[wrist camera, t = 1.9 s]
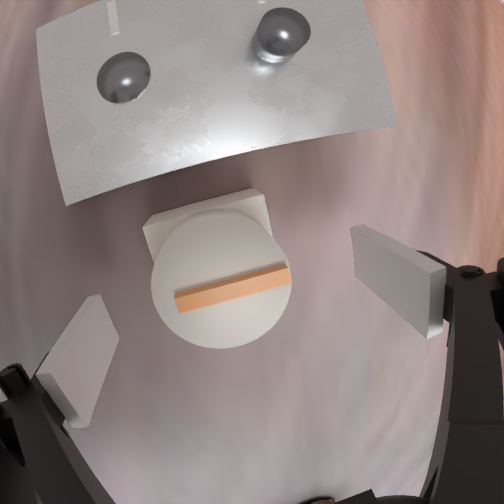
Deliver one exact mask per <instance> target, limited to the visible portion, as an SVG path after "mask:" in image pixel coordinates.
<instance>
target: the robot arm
mask: <svg viewBox="0 0 504 504" xmlns="http://www.w3.org/2000/svg"><path fill="white" fill-rule="evenodd" d="M350 231H351V239H352V247H353V255H354V264H355V274H356V277H357V278H358V279H359V280H360V281H362V282H363V283H364V284H365V285H366V286H367V287H369V288H370V289H371V290H372V291H373V292H374V293H376V294H377V295H378V296H379V297H380V298H381V299H383V300H384V301H385V302H386V303H387V304H388V305H389V306H390V307H392V308H393V309H394V310H395V311H396V312H397V313H398V314H400V315H401V316H402V317H403V318H404V319H405V320H406V321H407V322H409V323H410V324H411V325H412V326H413V327H414V328H415V329H416V330H417V331H418V332H420V333H421V334H422V335H423V336H424V337H425V338H426V339H429V338H431V337H433V336H435V335H437V334H439V333H441V332H442V327H443V318H444V319H445V320H446V321H447V322H449V323H450V324H449V332H448V340H447V347H448V351H447V363H446V373H445V383H444V391H443V398H442V405H441V411H440V417H439V423H438V428H437V434H436V439H435V443H434V448H433V452H432V457H431V461H430V465H429V469H428V473H427V476H426V480H425V483H424V485H423V488H422V491H421V494H420V497H416V496H406V495H393V496H383V497H378V498H376V497H375V495H374V493H373V491H372V489H370V490H367V491H365V492H362V493H360V494H357V495H355V496H352V497H349V498H347V499H344V500H341V501H338V502H335V503H332V504H504V406H503V382H502V369H501V359H500V350H499V342H498V339H499V341H500V343H501V345H502V348H503V350H504V258H501V259H500V260H498V263H497V271H496V272H491V273H485V272H484V270H483V269H481V268H480V267H476V266H470V265H467V266H461V267H458V268H456V267H454V266H452V265H450V264H448V263H446V262H444V261H443V260H442V261H441V259H439V258H437V257H435V256H433V255H431V254H429V253H427V252H422V251H418V250H417V251H415V250H414V249H412V248H410V247H408V246H406V245H404V244H402V243H400V242H398V241H396V240H394V239H392V238H390V237H388V236H386V235H384V234H382V233H380V232H378V231H376V230H374V229H372V228H370V227H368V226H366V225H363V224H362V225H359V226H355V227H351V228H350ZM119 340H120V338H119V336H118V333H117V331H116V329H115V327H114V325H113V323H112V320H111V318H110V316H109V314H108V311H107V309H106V307H105V304H104V302H103V300H102V297H101V295H100V294H97V295H93V296H89V297H87V299H86V300H85V301H84V303H83V304H82V305H81V307H80V308H79V310H78V311H77V312H76V314H75V315H74V317H73V318H72V320H71V321H70V322H69V324H68V325H67V327H66V328H65V330H64V331H63V333H62V334H61V336H60V337H59V339H58V340H57V342H56V343H55V345H54V346H53V348H52V349H51V350H50V351H49V352H48V353H47V355H46V356H45V358H44V359H43V362H41V364H40V365H39V367H38V369H37V370H36V372H35V373H34V375H33V377H32V378H31V380H30V378H29V377H28V375H27V374H26V372H25V370H24V369H23V367H22V366H21V364H18V363H16V364H12V365H10V366H7V367H6V368H5V369H3V370H2V371H1V372H0V388H1V389H2V391H3V392H4V394H5V395H6V397H7V398H8V400H6V401H3V402H0V504H116V503H115V502H114V501H113V499H112V498H111V497H110V495H109V494H108V493H107V491H106V490H105V489H104V487H103V486H102V485H101V483H100V482H99V480H98V479H97V478H96V476H95V475H94V473H93V472H92V470H91V469H90V467H89V466H88V464H87V463H86V461H85V460H84V458H83V457H82V455H81V453H80V452H79V450H78V449H77V447H76V445H75V444H74V442H73V440H72V439H71V437H70V435H69V433H68V432H67V430H66V429H65V428H64V426H63V425H62V424H63V422H64V419H66V420H67V421H68V423H69V424H70V425H71V427H72V428H88V427H89V424H90V421H91V417H92V414H93V411H94V408H95V405H96V402H97V399H98V397H99V394H100V391H101V388H102V385H103V382H104V380H105V377H106V374H107V371H108V369H109V366H110V363H111V361H112V358H113V355H114V353H115V350H116V347H117V345H118V342H119Z"/></svg>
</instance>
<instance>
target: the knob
mask: <svg viewBox="0 0 504 504" xmlns="http://www.w3.org/2000/svg"><path fill="white" fill-rule="evenodd" d="M142 228H143V231H144V234H145V238H146V241H147V244H148V247H149V250H150V253H151V256H152V259H153V262H154V267H153V271H152V277H151V293H152V299H153V302H154V305H155V308H156V310H157V312H158V314H159V316H160V317H161V319H162V320H163V322H164V323H165V324H166V325H167V327H168V328H169V329H170V330H172V331H173V332H174V333H175V334H176V335H178V336H179V337H181V338H182V339H184V340H186V341H188V342H190V343H193V344H195V345H198V346H202V347H207V348H221V349H223V348H232V347H237V346H241V345H244V344H247V343H249V342H251V341H253V340H255V339H257V338H259V337H260V336H262V335H263V334H265V333H266V332H267V331H268V330H269V329H271V328H272V327H273V326H274V325H275V323H276V322H277V321H278V320H279V318H280V317H281V315H282V314H283V312H284V310H285V308H286V306H287V303H288V300H289V297H290V292H291V271H290V267H289V263H288V260H287V258H286V256H285V253H284V252H283V250H282V249H281V247H280V246H279V244H278V243H277V242H276V241H275V240H274V238H273V234H272V230H271V225H270V221H269V216H268V212H267V207H266V202H265V198H264V194H262V193H260V192H258V191H257V190H255V189H253V188H250V189H246V190H242V191H238V192H234V193H230V194H226V195H223V196H219V197H215V198H211V199H207V200H204V201H200V202H196V203H193V204H189V205H185V206H182V207H178V208H175V209H171V210H168V211H164V212H161V213H157V214H154V215H152V216H151V217H150V218H149V220H148V221H147V222H146V223H145V225H144V226H143V227H142Z"/></svg>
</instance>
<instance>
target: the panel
mask: <svg viewBox="0 0 504 504" xmlns="http://www.w3.org/2000/svg"><path fill="white" fill-rule="evenodd" d="M36 39H37V54H38V66H39V76H40V85H41V92H42V100H43V106H44V113H45V119H46V124H47V130H48V135H49V140H50V145H51V150H52V154H53V159H54V163H55V167H56V171H57V175H58V179H59V183H60V187H61V191H62V194H63V198H64V202H65V205H66V206H68V205H70V204H73V203H76V202H79V201H81V200H84V199H87V198H90V197H92V196H95V195H98V194H101V193H104V192H107V191H110V190H113V189H116V188H119V187H122V186H125V185H128V184H131V183H134V182H137V181H140V180H144V179H147V178H150V177H153V176H157V175H160V174H164V173H167V172H170V171H174V170H177V169H181V168H185V167H188V166H192V165H196V164H199V163H203V162H207V161H211V160H215V159H219V158H223V157H227V156H231V155H236V154H240V153H244V152H249V151H253V150H258V149H262V148H267V147H272V146H276V145H281V144H286V143H292V142H297V141H302V140H308V139H313V138H319V137H325V136H331V135H337V134H344V133H350V132H357V131H365V130H372V129H380V128H389V127H397V124H396V119H395V114H394V109H393V105H392V100H391V96H390V91H389V87H388V83H387V79H386V75H385V71H384V68H383V64H382V60H381V57H380V53H379V50H378V46H377V43H376V40H375V37H374V33H373V30H372V27H371V24H370V21H369V18H368V16H367V13H366V10H365V7H364V4H363V2H362V0H100V1H97V2H95V3H92V4H90V5H87V6H85V7H82V8H80V9H77V10H75V11H73V12H70V13H68V14H66V15H64V16H62V17H59V18H57V19H55V20H53V21H51V22H49V23H47V24H45V25H43V26H41V27H39V28H37V29H36Z"/></svg>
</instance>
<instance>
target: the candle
mask: <svg viewBox="0 0 504 504" xmlns="http://www.w3.org/2000/svg"><path fill="white" fill-rule="evenodd" d="M332 503H335V500H334V499H329V500H318V501H316V502H313V503H311V504H332Z"/></svg>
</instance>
